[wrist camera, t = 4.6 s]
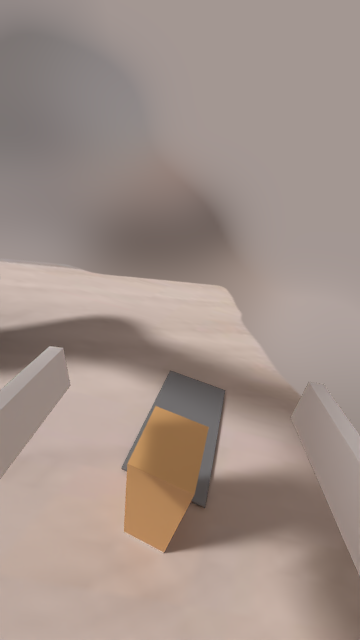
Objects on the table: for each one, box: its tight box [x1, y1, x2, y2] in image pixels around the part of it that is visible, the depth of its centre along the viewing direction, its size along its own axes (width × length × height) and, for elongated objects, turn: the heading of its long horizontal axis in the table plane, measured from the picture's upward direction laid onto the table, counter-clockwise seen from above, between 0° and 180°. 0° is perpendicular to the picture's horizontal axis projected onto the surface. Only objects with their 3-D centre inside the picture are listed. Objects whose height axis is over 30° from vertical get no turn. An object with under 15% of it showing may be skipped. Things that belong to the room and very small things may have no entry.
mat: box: [122, 371, 225, 508], centre depth 33 cm, size 18×11×1 cm, turn 162°
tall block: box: [124, 406, 209, 553], centre depth 19 cm, size 4×4×16 cm
